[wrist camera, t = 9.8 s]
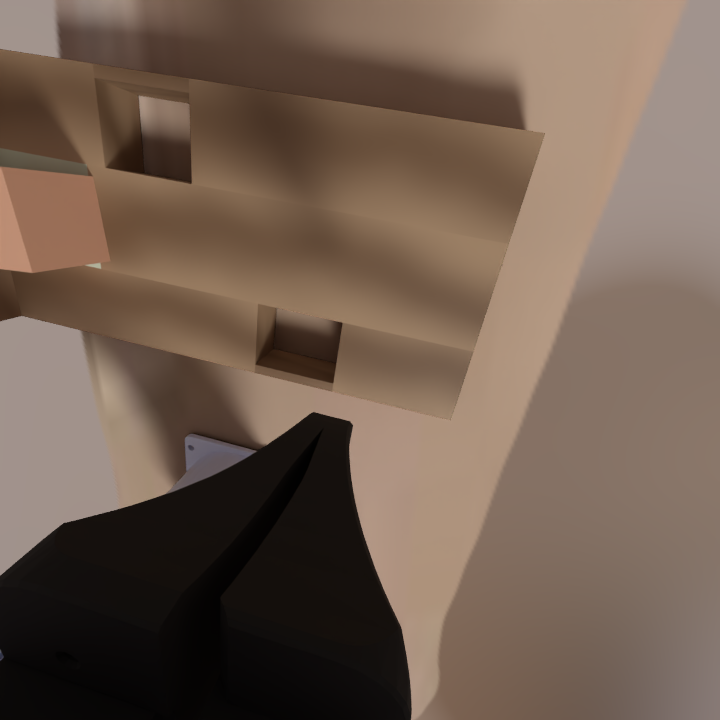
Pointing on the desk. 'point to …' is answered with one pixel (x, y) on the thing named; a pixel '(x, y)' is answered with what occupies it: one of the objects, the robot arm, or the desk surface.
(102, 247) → the block
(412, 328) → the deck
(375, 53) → the desk surface
